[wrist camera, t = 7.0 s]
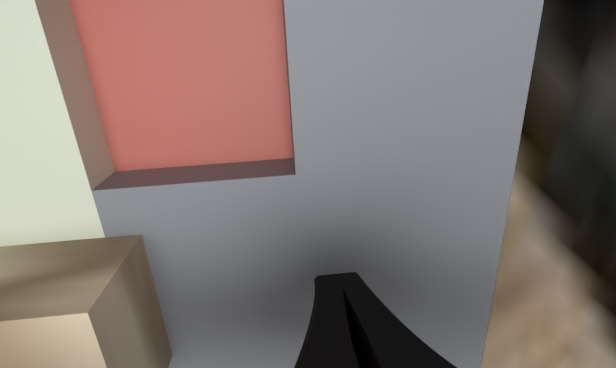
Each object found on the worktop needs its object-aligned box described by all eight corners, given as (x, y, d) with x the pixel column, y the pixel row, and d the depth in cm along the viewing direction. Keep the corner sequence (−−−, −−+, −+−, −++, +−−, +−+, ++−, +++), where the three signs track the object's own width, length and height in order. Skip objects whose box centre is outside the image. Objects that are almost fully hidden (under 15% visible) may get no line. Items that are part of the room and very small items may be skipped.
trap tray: (513, -90, 11) (698, -192, 6) (445, 421, 19) (502, 544, 14) (-163, -67, 9) (-584, -173, 5) (78, 466, 18) (8, 618, 13)
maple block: (141, 234, 11) (87, 312, 8) (172, 355, 13) (138, 459, 10) (-29, 248, 11) (-157, 336, 8) (27, 370, 13) (-57, 483, 9)
